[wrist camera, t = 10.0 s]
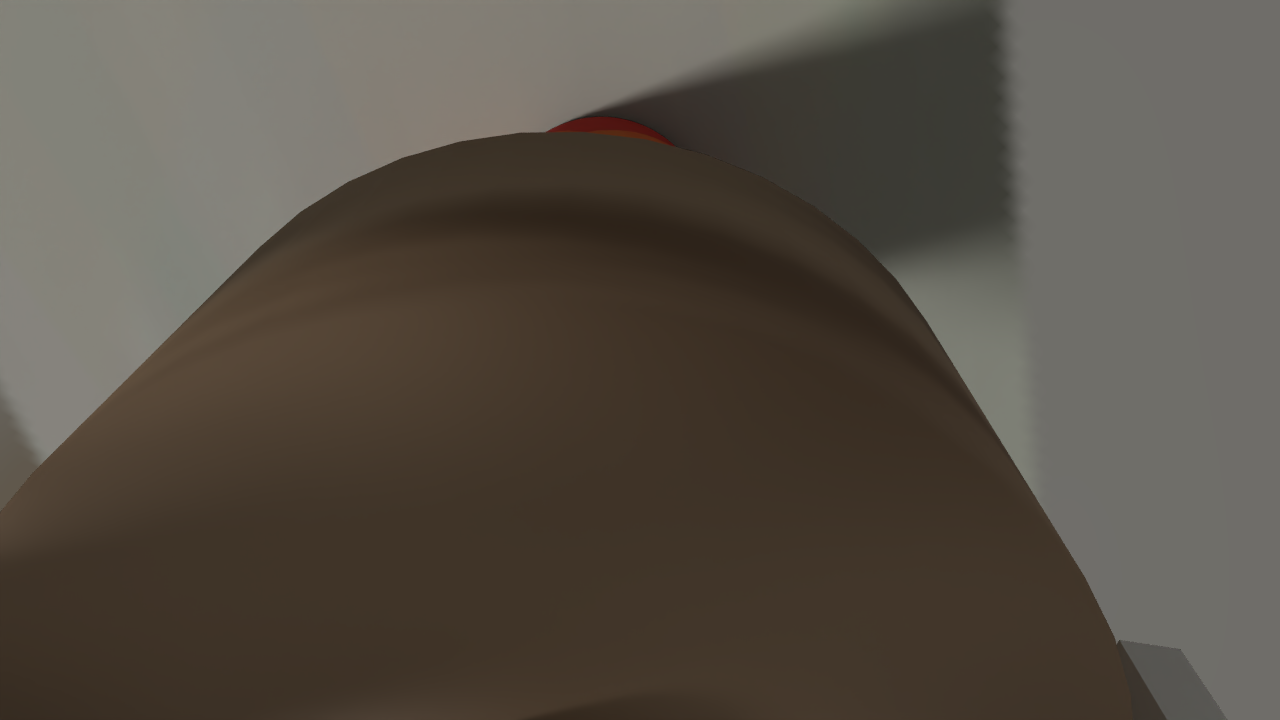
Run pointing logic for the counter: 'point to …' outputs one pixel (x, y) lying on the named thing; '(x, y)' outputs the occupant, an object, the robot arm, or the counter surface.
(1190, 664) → the robot arm
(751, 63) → the counter surface
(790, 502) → the lid
